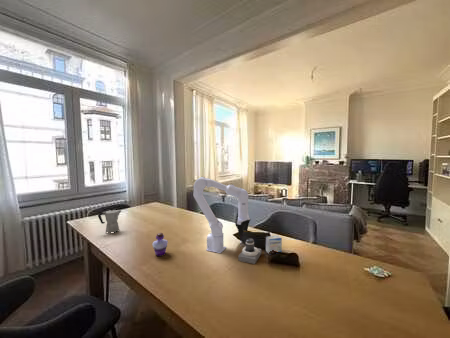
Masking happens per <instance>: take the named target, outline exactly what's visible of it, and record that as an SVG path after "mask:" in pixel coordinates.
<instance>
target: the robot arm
mask: <svg viewBox="0 0 450 338" xmlns="http://www.w3.org/2000/svg"><path fill="white" fill-rule="evenodd" d="M211 187H212V188H215V189H219V190H221V191H224V192H225V194H227V195H229V196H231V197H235V198H238V202H237V206H238V207H237V209H238V210H237V211H238V212H237V214H238V215H237V216H238V217H237V221H236V222H235V224H234V225H235V226H236V229H237V231H238V232H237V233H238V236H242V237H243V236H244V232H247V231H248V230H249V229H248V228H249V225H250V221H251V220H252V219H251V218H250V216H249V198H250V197H249V193H248V191H247V190H246V189H244V188H242V187H238V186H235V184H228V185H226V184H224V183H221V182H219V181H217V180H214V179H212V178H208V177H205V176H200V177H199V178H197V179H196V180H195V182H194V184H193V192H192V193H193V198H194V200H195V202H196V203H197V205H198V207H199V208H200V210H201V212H202V214H203V215H204V217H205V219H206V220H207V222H208V225H209V228H210V232H211V233H208V234H207V235H206V251H208V252H214V253H218V254H222V253H223V251H225V250H226V249H227V246H225V245H224V233H223V227H224V226H223V223H222V222H221V221H219V219H218V218H217V217H216V215H215V214H214V212H213V210H212V208H211V206H209V203H208V202H207V199H206V198H205V196H204V195H203V194H204V190H205V189H206V188H207V189H208V188H211Z"/></svg>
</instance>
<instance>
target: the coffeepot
mask: <svg viewBox="0 0 450 338" xmlns="http://www.w3.org/2000/svg"><path fill="white" fill-rule="evenodd" d="M121 212H122V210H121V209H117V210H116V209H114V208H113V207H110V209H109V210H106V211H103V212H102V211H101V212H99V214H98V215H97V216H98V219H99V222H100V223H101V224H105V222H106V226H105V227H106V228H105V233H106V232H108V233H111V232H116V231H118V230H119V231H120V226H119V222H118V219H119V216H120V214H121ZM102 216H104V217H105V221H103V220H104V219H103V218H102ZM119 231H118V232H119Z"/></svg>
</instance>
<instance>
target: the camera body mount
mask: <svg viewBox="0 0 450 338" xmlns="http://www.w3.org/2000/svg"><path fill="white" fill-rule="evenodd" d="M261 255H262V248H258V247H255V246H254V252H246V246H244V247H243V248H242V250H241V252H240V253H239V254H238V257H237V258H238V262H241V263H242V262H243V263H248V264H253V265H256V263H257V261H258V260H259V258H260V256H261Z"/></svg>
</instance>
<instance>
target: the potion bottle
mask: <svg viewBox="0 0 450 338" xmlns="http://www.w3.org/2000/svg"><path fill="white" fill-rule="evenodd" d="M155 239H156V240H154V241H153V242H152V243H151V244H152V248H153V249H154V253H155V254H154V255H155V256H156V255H157V256H156V257H163V256H165V255H166V251H167V247H168V243H169V241H168V240H167V239H165V234H164V233H163V232H158V233H156V236H155ZM164 254H165V255H164ZM162 255H163V256H162Z"/></svg>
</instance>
